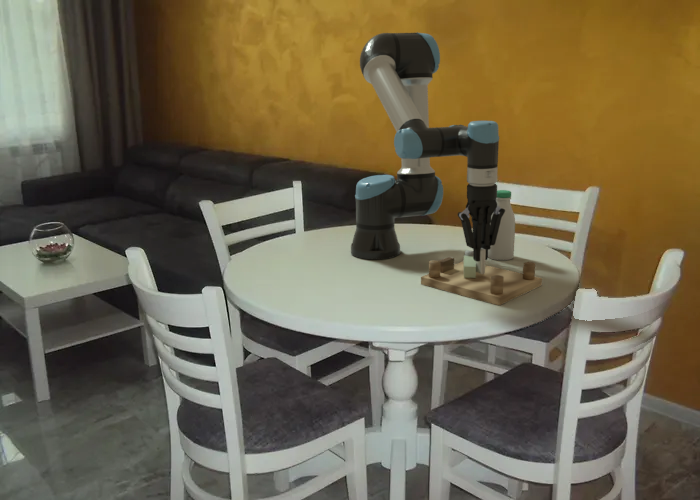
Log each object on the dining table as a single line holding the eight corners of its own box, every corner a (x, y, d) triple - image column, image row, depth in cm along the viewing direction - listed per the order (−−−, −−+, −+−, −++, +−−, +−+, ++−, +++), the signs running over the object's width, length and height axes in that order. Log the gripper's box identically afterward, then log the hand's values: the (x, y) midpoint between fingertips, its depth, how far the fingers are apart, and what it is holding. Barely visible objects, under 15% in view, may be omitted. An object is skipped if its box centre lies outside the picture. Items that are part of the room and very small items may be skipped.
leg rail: (463, 264, 186) (463, 250, 185) (474, 264, 186) (474, 250, 185) (463, 277, 175) (464, 263, 174) (475, 278, 174) (476, 263, 173)
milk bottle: (513, 261, 196) (517, 194, 190) (486, 260, 197) (489, 193, 192) (513, 254, 203) (516, 189, 197) (487, 253, 204) (489, 188, 199)
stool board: (420, 284, 177) (421, 262, 176) (465, 267, 191) (465, 246, 189) (499, 305, 161) (500, 281, 159) (541, 285, 175) (543, 263, 173)
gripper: (467, 188, 164) (466, 280, 171) (512, 183, 168) (509, 272, 175) (452, 183, 171) (451, 271, 177) (495, 178, 175) (493, 264, 182)
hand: (480, 272), depth 176 cm, fingers closed
